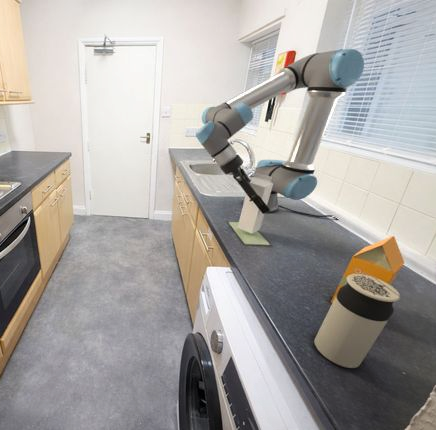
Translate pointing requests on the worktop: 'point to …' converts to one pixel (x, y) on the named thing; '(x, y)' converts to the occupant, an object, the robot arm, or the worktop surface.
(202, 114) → the robot arm
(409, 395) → the worktop surface
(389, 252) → the orange juice
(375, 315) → the travel mug
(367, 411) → the worktop surface
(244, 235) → the sage mat
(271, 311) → the worktop surface
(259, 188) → the milk
